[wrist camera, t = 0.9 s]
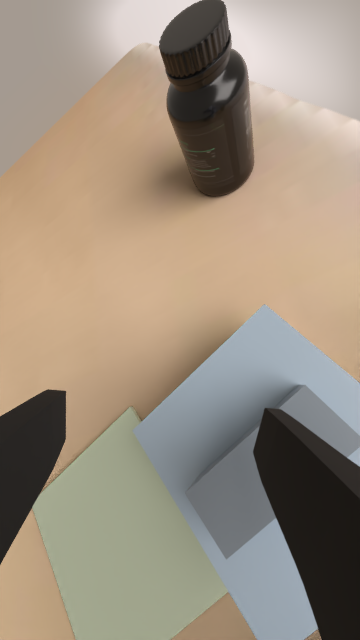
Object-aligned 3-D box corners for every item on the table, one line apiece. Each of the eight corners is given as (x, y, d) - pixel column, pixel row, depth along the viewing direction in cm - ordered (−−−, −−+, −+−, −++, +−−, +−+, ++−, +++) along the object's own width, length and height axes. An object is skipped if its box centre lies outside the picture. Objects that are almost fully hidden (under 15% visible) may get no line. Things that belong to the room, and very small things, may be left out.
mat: (240, 578, 17) (239, 582, 16) (99, 694, 18) (96, 701, 18) (132, 406, 23) (130, 406, 23) (34, 501, 24) (30, 502, 24)
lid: (454, 474, 12) (563, 528, 7) (272, 621, 13) (272, 742, 8) (265, 313, 17) (263, 289, 13) (147, 425, 18) (108, 438, 14)
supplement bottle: (221, 140, 28) (189, -16, 17) (268, 158, 25) (266, -17, 14) (183, 184, 28) (128, 59, 17) (225, 207, 25) (190, 74, 14)
